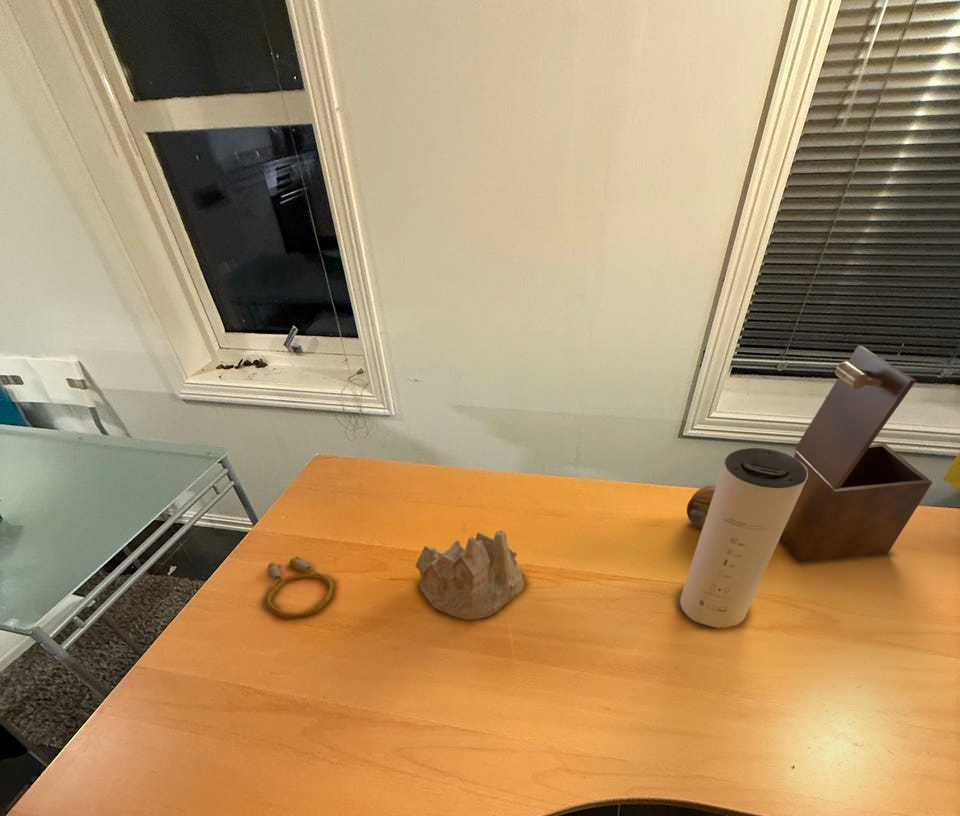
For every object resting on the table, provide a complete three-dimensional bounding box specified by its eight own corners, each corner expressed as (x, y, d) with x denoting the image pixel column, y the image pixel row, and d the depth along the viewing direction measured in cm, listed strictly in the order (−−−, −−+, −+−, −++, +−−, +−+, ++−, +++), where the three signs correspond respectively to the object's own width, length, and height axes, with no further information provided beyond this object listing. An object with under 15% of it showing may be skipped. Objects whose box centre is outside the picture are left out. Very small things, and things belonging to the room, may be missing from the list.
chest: (847, 513, 105) (884, 443, 94) (887, 554, 96) (933, 482, 86) (767, 521, 104) (795, 451, 94) (800, 563, 96) (835, 491, 85)
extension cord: (335, 558, 104) (333, 549, 102) (332, 614, 93) (329, 606, 92) (271, 566, 103) (267, 558, 101) (260, 624, 92) (256, 616, 91)
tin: (682, 525, 105) (692, 486, 99) (686, 516, 107) (696, 478, 101) (764, 544, 100) (781, 505, 94) (767, 535, 102) (783, 495, 95)
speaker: (756, 603, 90) (821, 457, 70) (731, 640, 84) (794, 494, 65) (695, 578, 95) (741, 436, 75) (668, 612, 89) (709, 468, 70)
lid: (862, 346, 82) (831, 341, 81) (916, 380, 73) (882, 375, 72) (798, 449, 94) (770, 446, 93) (838, 489, 85) (808, 486, 84)
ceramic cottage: (536, 586, 95) (531, 513, 84) (463, 635, 89) (448, 562, 78) (480, 550, 104) (469, 480, 93) (411, 592, 98) (391, 522, 87)
